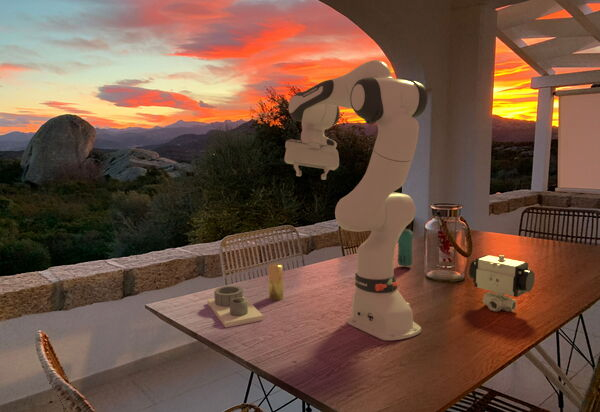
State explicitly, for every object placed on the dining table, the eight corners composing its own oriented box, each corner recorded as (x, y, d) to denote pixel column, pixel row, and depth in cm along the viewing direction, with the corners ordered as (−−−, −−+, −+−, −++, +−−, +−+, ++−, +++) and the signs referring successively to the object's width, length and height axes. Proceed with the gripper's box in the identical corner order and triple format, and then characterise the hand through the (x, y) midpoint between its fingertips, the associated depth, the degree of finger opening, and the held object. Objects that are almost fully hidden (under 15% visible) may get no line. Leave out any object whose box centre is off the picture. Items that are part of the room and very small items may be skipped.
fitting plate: (263, 320, 130) (262, 302, 130) (225, 327, 125) (224, 309, 125) (241, 297, 150) (240, 282, 149) (207, 303, 145) (206, 287, 144)
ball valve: (465, 304, 141) (467, 253, 139) (477, 298, 146) (480, 248, 144) (521, 321, 127) (524, 263, 125) (532, 313, 133) (536, 258, 130)
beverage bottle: (412, 265, 188) (413, 221, 185) (412, 270, 181) (413, 224, 179) (397, 265, 189) (398, 221, 187) (397, 269, 183) (397, 223, 180)
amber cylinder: (285, 299, 148) (284, 266, 147) (272, 301, 146) (271, 268, 145) (279, 294, 153) (279, 262, 151) (267, 297, 151) (266, 264, 149)
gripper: (287, 134, 152) (285, 170, 148) (340, 143, 157) (340, 178, 153) (283, 141, 157) (281, 176, 154) (334, 149, 163) (334, 183, 159)
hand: (311, 177), depth 153 cm, fingers open, 8 cm apart
